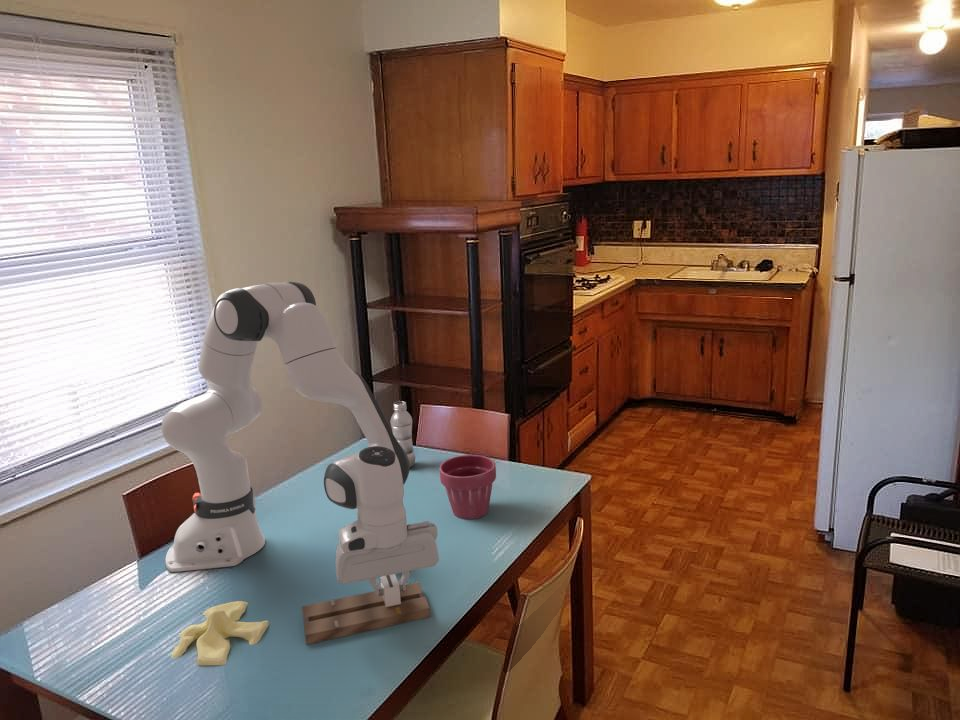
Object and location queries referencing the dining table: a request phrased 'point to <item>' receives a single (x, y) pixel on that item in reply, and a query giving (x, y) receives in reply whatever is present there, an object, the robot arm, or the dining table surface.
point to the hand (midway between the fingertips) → (390, 592)
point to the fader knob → (390, 590)
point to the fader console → (362, 614)
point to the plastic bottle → (403, 429)
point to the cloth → (219, 633)
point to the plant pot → (468, 484)
